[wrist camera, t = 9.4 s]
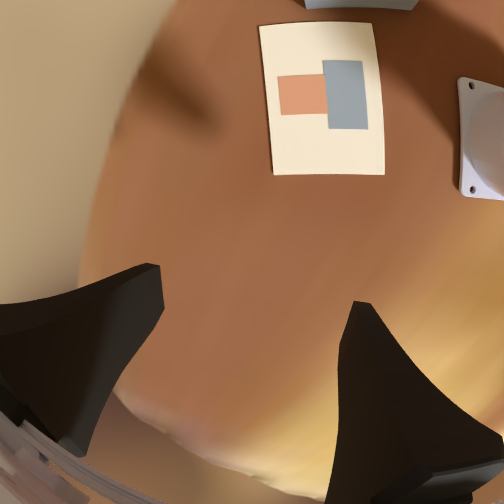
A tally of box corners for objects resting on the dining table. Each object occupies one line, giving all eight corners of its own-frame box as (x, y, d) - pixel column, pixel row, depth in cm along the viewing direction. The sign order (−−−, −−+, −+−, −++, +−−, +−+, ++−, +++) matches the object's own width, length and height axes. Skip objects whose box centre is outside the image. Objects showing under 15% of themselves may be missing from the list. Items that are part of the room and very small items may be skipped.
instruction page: (371, 24, 12) (371, 22, 12) (383, 174, 16) (384, 175, 16) (259, 27, 14) (258, 26, 14) (274, 174, 18) (273, 175, 18)
